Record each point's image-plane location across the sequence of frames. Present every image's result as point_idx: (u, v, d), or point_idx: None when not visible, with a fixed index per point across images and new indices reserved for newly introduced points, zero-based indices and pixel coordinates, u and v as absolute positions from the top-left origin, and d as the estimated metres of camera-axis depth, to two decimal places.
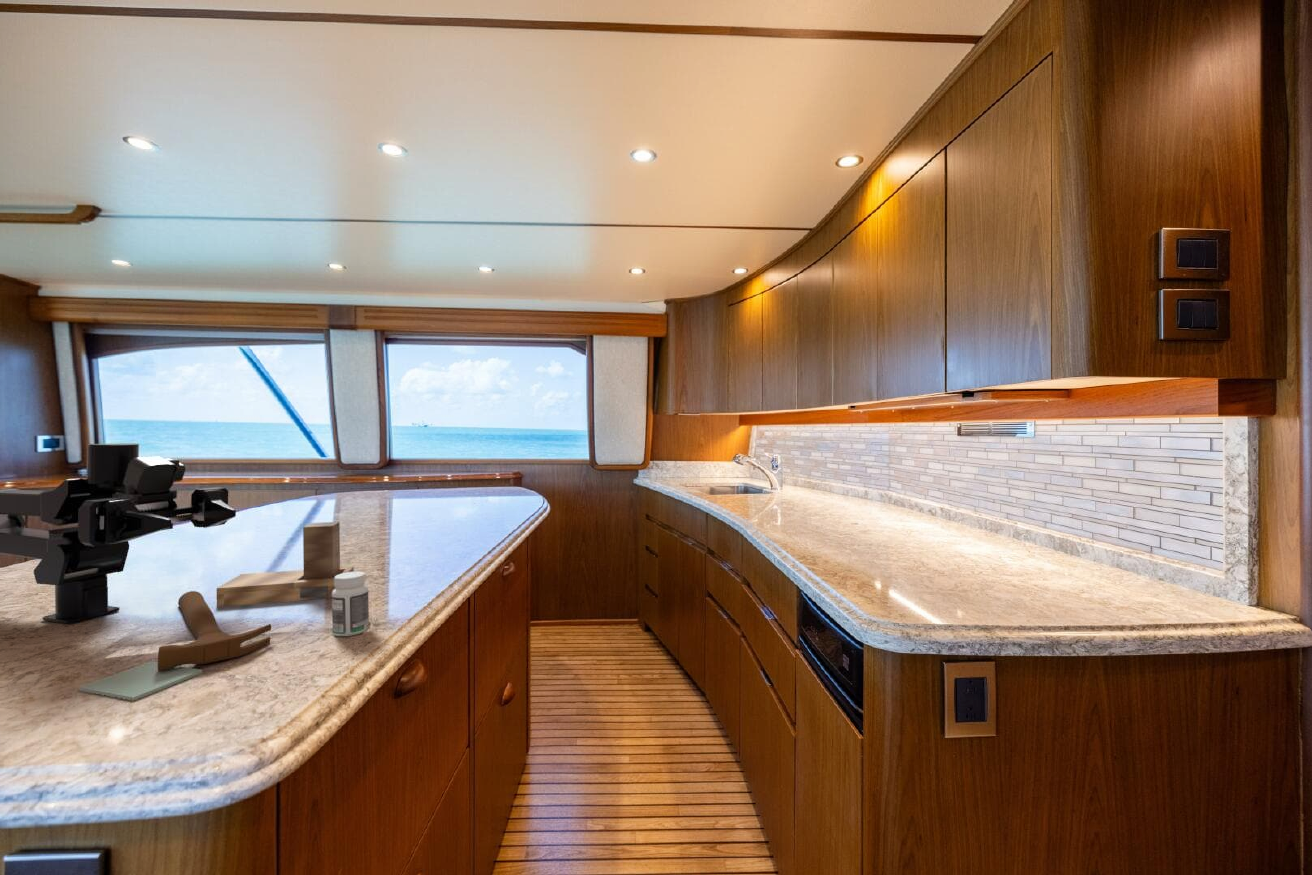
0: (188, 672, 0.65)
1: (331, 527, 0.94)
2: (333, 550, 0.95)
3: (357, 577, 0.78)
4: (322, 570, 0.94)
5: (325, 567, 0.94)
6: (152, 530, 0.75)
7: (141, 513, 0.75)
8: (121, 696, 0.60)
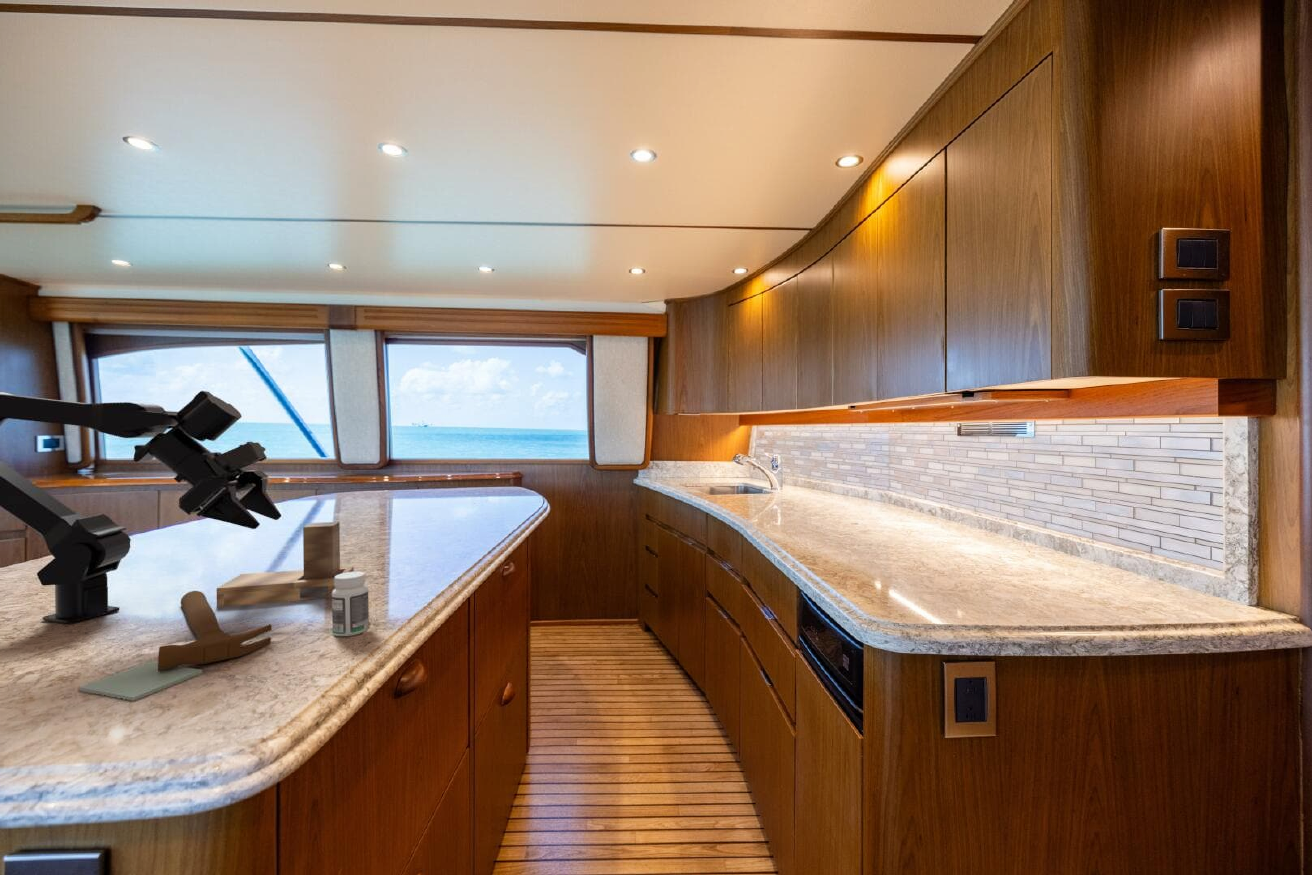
0: (188, 672, 0.65)
1: (331, 527, 0.94)
2: (333, 550, 0.95)
3: (357, 577, 0.78)
4: (322, 570, 0.94)
5: (325, 567, 0.94)
6: (239, 524, 0.87)
7: (240, 506, 0.87)
8: (121, 696, 0.60)
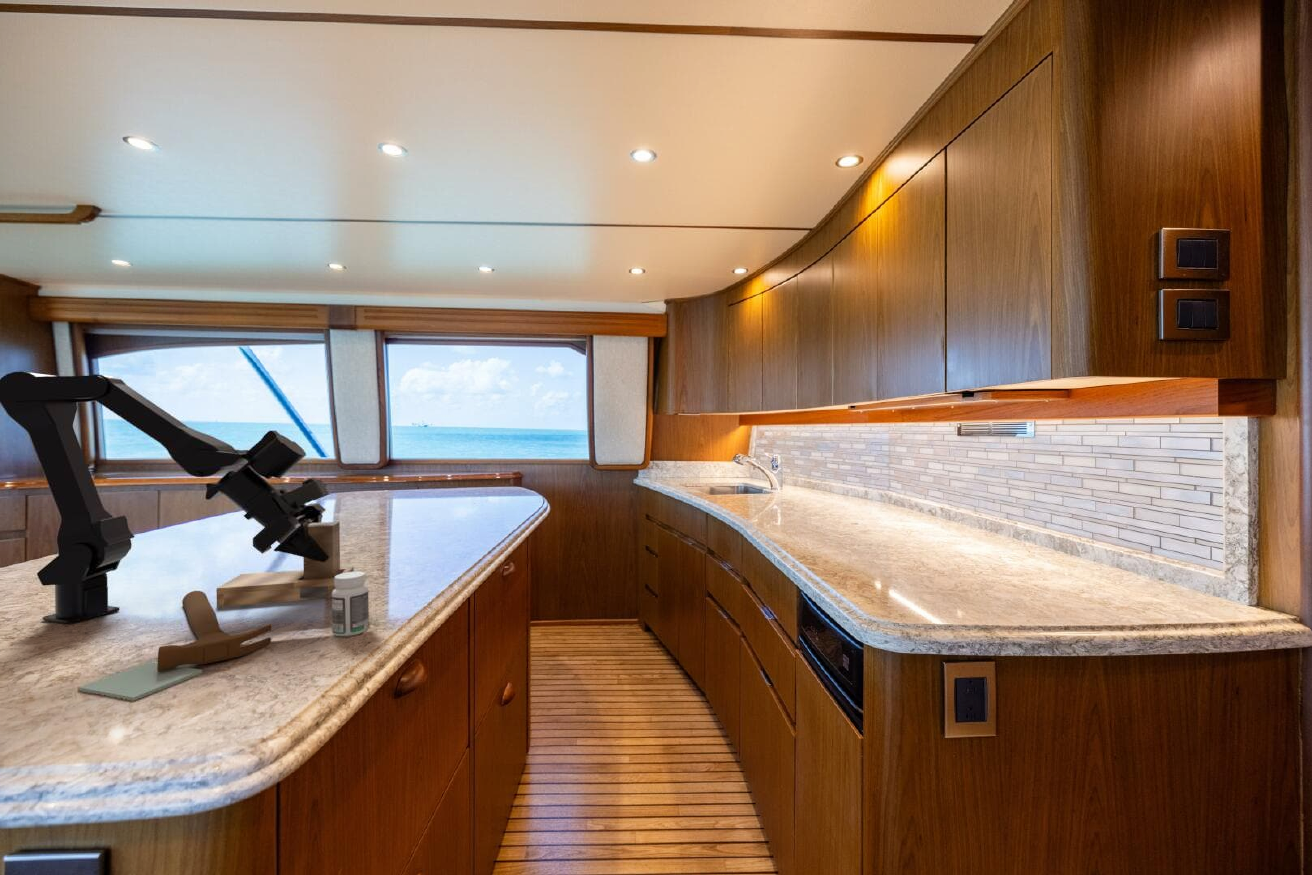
0: (188, 672, 0.65)
1: (331, 527, 0.94)
2: (333, 550, 0.95)
3: (357, 577, 0.78)
4: (322, 570, 0.94)
5: (325, 567, 0.94)
6: (310, 557, 0.92)
7: (312, 541, 0.92)
8: (121, 696, 0.60)
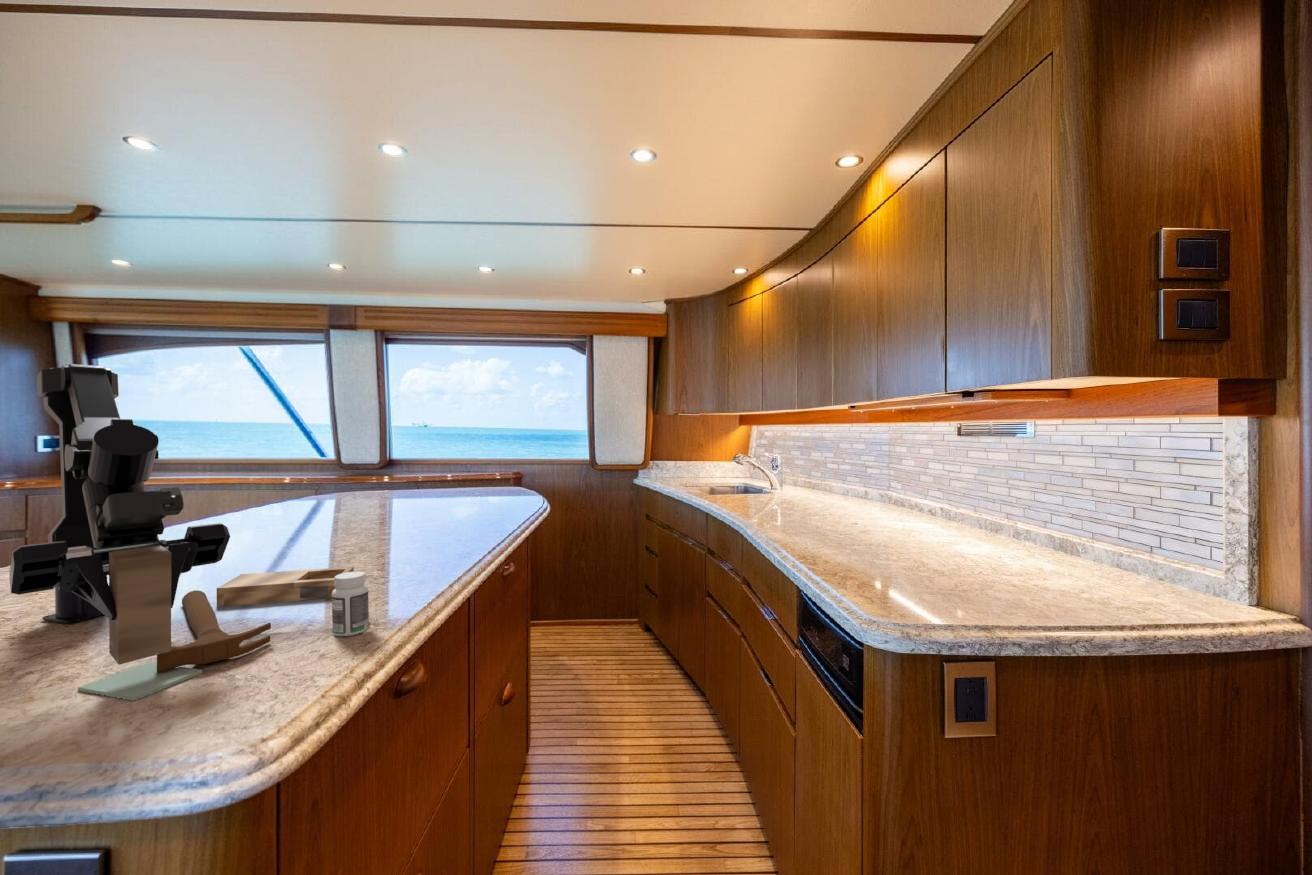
0: (188, 672, 0.65)
1: (117, 562, 0.60)
2: (123, 597, 0.60)
3: (357, 577, 0.78)
4: (114, 624, 0.61)
5: (116, 620, 0.61)
6: (100, 609, 0.61)
7: (97, 585, 0.61)
8: (121, 696, 0.60)
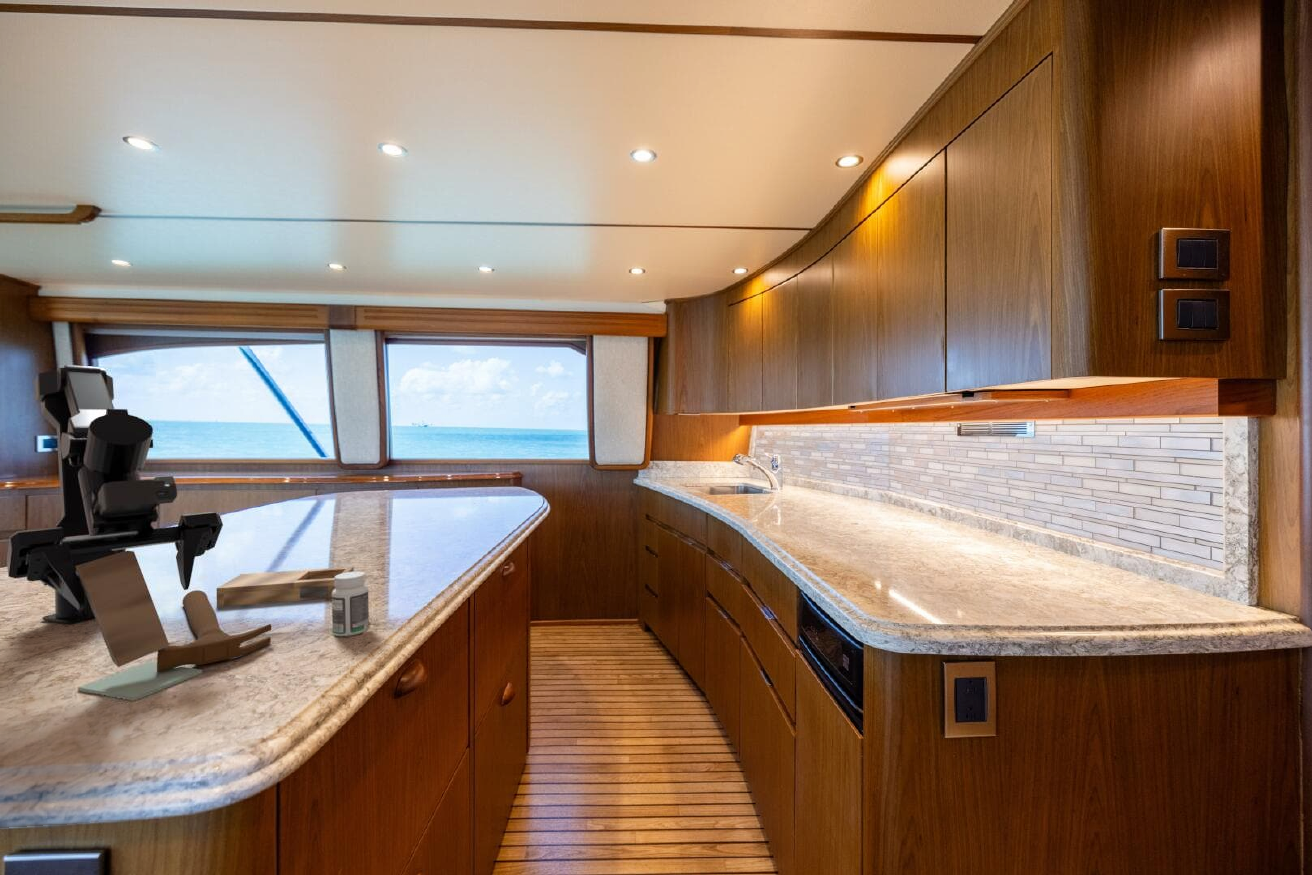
0: (188, 672, 0.65)
1: (79, 570, 0.59)
2: (99, 603, 0.60)
3: (357, 577, 0.78)
4: (102, 631, 0.61)
5: (101, 627, 0.61)
6: (67, 599, 0.61)
7: (65, 574, 0.61)
8: (121, 696, 0.60)
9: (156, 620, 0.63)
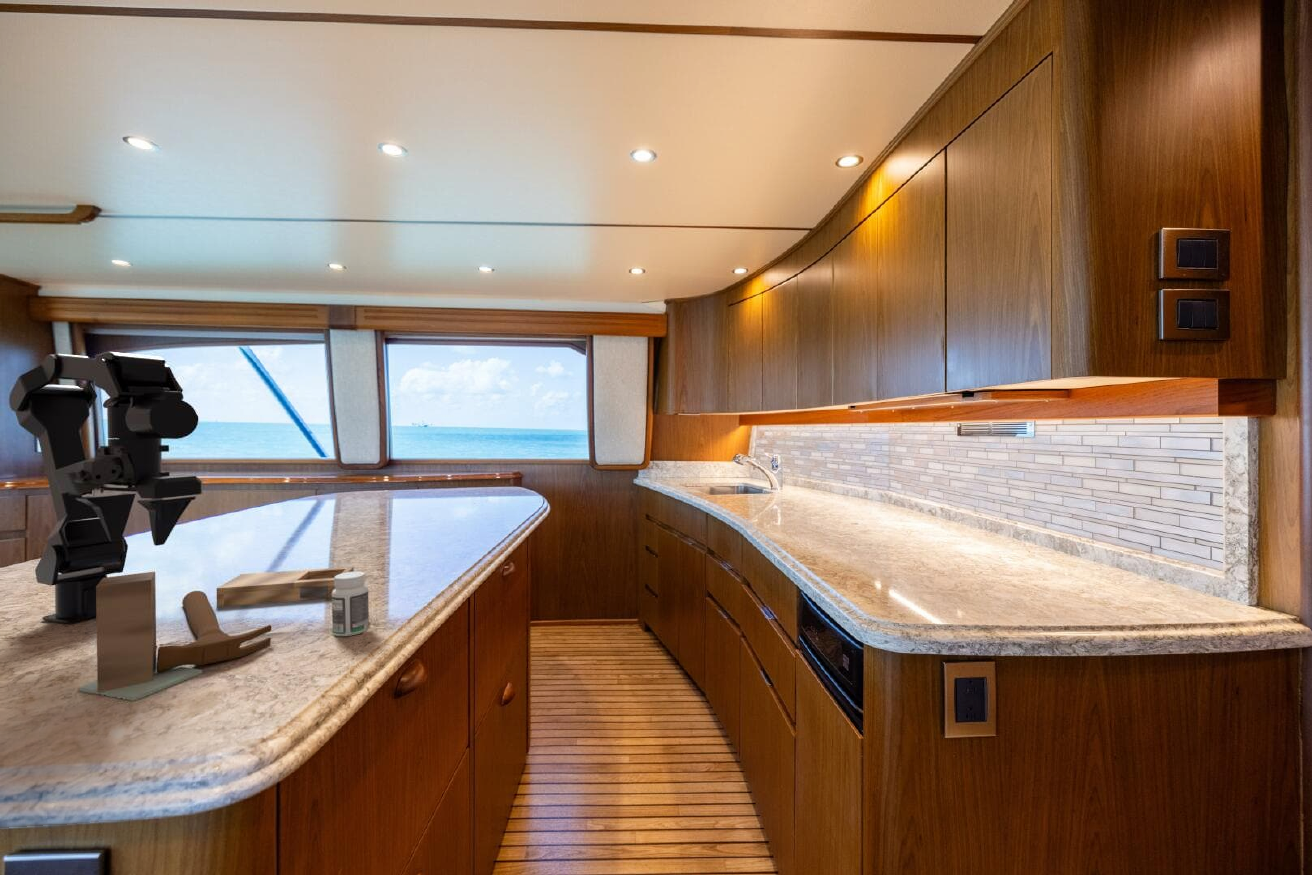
0: (188, 672, 0.65)
1: (96, 588, 0.60)
2: (102, 624, 0.60)
3: (357, 577, 0.78)
4: None
5: None
6: None
7: (100, 517, 0.80)
8: (121, 696, 0.60)
9: (148, 652, 0.63)
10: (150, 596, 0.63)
